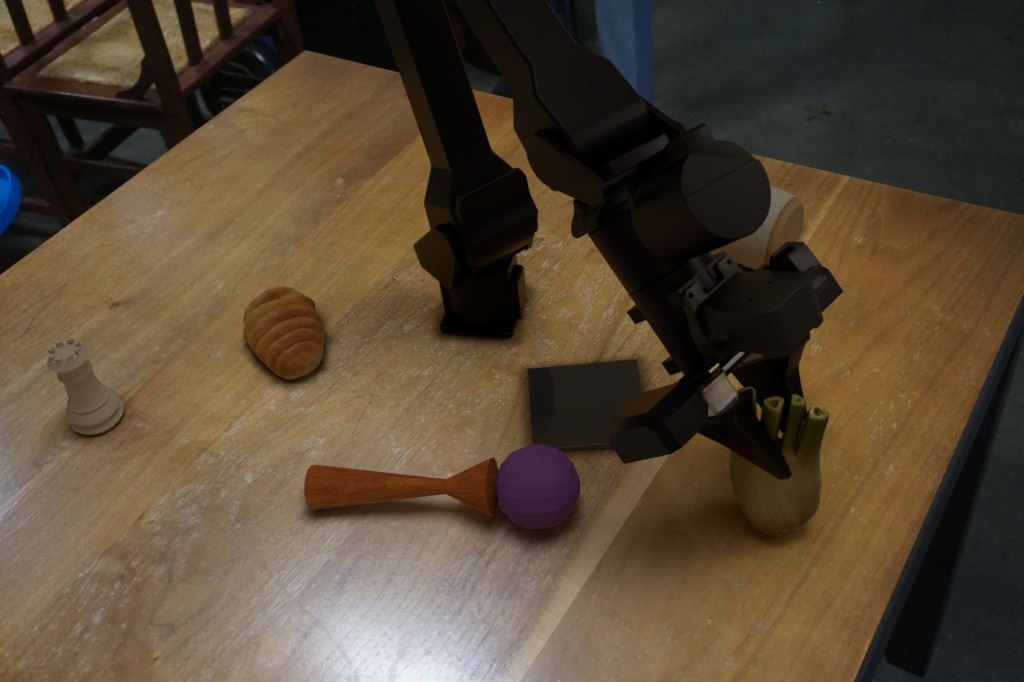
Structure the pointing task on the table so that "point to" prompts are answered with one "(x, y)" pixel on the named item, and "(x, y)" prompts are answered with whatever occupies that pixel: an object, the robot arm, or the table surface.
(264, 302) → the pastry
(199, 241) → the table surface
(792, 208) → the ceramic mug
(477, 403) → the table surface
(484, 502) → the kendama
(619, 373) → the slate coaster
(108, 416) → the rook chess piece
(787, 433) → the fennel bulb
